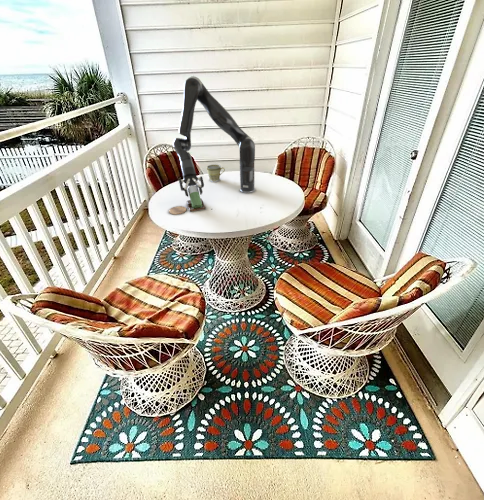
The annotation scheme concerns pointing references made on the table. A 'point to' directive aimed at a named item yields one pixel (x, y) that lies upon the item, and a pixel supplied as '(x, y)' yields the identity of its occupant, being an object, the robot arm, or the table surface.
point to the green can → (194, 197)
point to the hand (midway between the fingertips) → (194, 195)
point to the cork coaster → (177, 210)
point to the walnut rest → (195, 208)
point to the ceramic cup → (214, 172)
